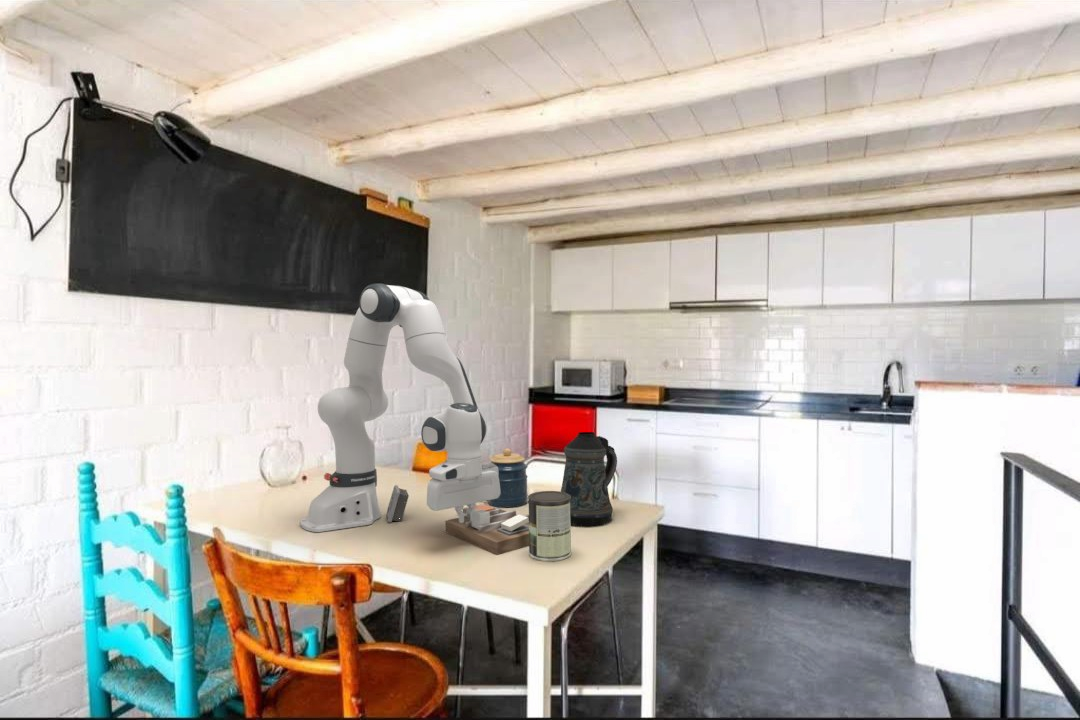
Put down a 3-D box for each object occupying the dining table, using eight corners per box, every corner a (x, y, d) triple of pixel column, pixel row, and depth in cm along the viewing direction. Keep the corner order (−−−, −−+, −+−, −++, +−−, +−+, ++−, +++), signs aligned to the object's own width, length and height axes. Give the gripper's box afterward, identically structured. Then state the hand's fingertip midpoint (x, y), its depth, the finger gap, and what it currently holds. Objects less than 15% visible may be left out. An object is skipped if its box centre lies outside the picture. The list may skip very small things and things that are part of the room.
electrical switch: (386, 515, 175) (388, 484, 175) (403, 515, 177) (406, 484, 177) (388, 524, 166) (390, 491, 166) (406, 523, 168) (409, 491, 168)
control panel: (496, 554, 140) (496, 532, 140) (445, 531, 158) (445, 511, 158) (553, 538, 151) (552, 517, 151) (498, 518, 170) (498, 500, 170)
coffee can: (519, 555, 139) (519, 496, 139) (546, 544, 147) (546, 488, 147) (553, 565, 133) (553, 503, 133) (579, 552, 141) (579, 494, 141)
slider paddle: (480, 529, 149) (480, 514, 149) (471, 526, 152) (471, 511, 152) (489, 527, 151) (489, 512, 151) (481, 524, 154) (480, 509, 154)
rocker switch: (510, 531, 146) (510, 526, 146) (501, 527, 149) (500, 523, 149) (529, 521, 149) (528, 517, 149) (519, 518, 153) (518, 514, 152)
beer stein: (546, 523, 165) (545, 435, 165) (573, 506, 183) (572, 427, 182) (601, 530, 158) (600, 438, 158) (623, 512, 176) (623, 429, 175)
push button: (479, 520, 157) (479, 511, 157) (469, 516, 161) (469, 507, 161) (494, 517, 160) (494, 508, 160) (484, 513, 164) (484, 504, 164)
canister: (502, 495, 197) (502, 444, 197) (535, 500, 190) (534, 446, 190) (479, 504, 186) (479, 449, 186) (513, 510, 179) (512, 453, 179)
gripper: (491, 460, 157) (491, 511, 157) (423, 471, 144) (424, 526, 144) (504, 463, 152) (505, 516, 152) (435, 475, 139) (436, 532, 139)
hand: (465, 521), depth 148 cm, fingers closed
